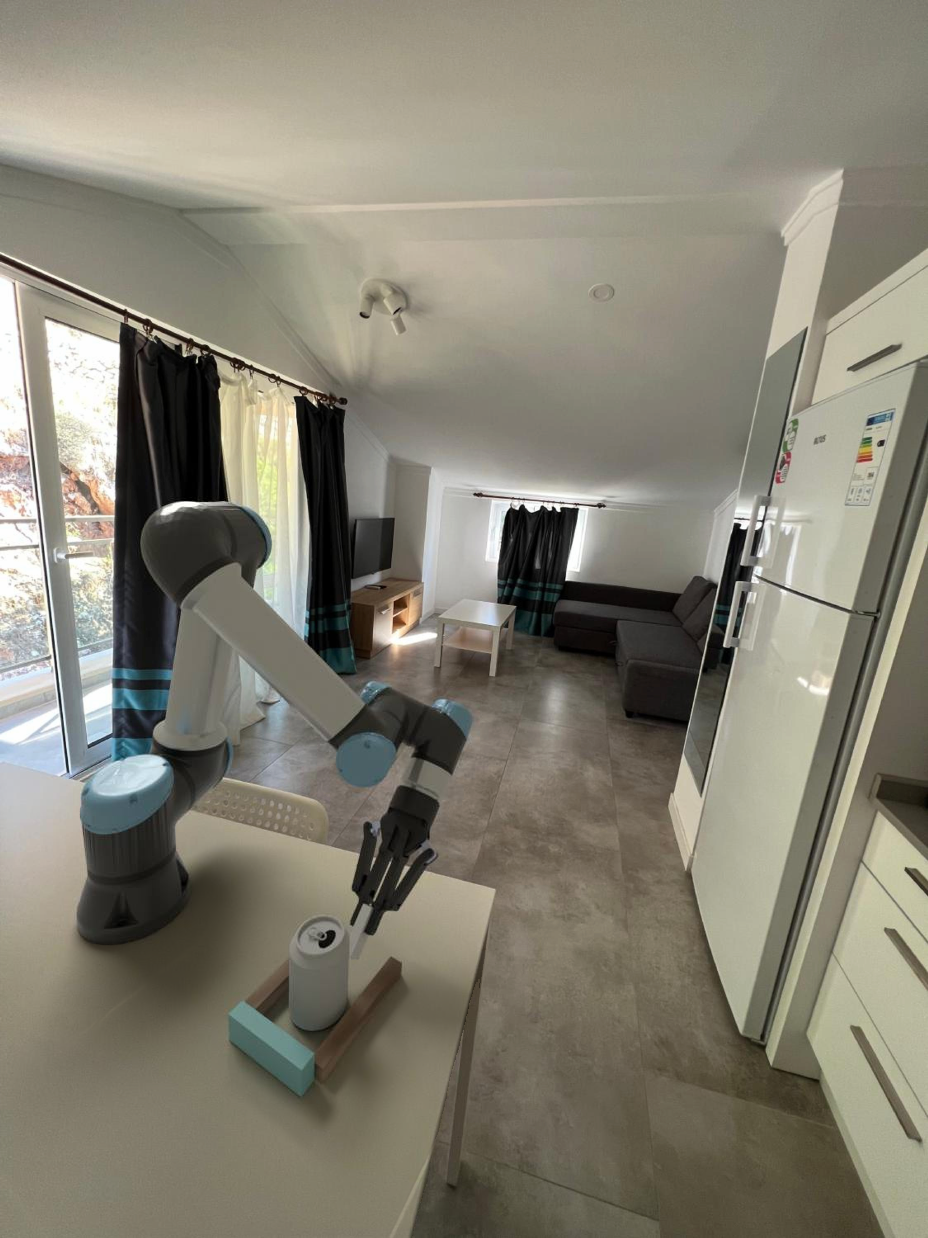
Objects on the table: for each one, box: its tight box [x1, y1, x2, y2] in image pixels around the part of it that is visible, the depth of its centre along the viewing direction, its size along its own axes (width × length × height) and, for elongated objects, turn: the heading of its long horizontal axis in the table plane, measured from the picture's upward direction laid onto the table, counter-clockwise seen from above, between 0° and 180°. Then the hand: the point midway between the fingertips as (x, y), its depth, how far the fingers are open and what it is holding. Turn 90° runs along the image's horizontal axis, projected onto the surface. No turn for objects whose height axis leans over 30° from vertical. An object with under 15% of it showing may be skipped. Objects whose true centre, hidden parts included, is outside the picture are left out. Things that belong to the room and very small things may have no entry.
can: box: [288, 914, 350, 1032], centre depth 65 cm, size 8×8×12 cm
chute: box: [243, 955, 403, 1084], centre depth 67 cm, size 14×16×2 cm
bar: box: [227, 1000, 315, 1098], centre depth 59 cm, size 12×2×4 cm, turn 63°
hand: (350, 956), depth 69 cm, fingers closed
